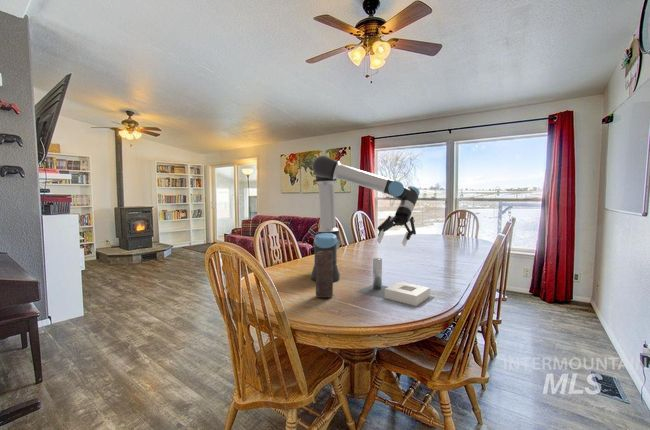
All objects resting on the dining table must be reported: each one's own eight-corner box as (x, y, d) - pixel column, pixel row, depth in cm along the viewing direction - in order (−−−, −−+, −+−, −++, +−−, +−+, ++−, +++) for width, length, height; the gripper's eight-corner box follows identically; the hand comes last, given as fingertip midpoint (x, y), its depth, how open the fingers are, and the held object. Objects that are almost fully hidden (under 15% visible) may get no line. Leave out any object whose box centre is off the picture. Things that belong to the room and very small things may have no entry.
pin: (371, 288, 141) (371, 259, 140) (375, 286, 144) (376, 257, 143) (378, 290, 138) (379, 260, 137) (383, 288, 141) (383, 258, 140)
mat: (356, 292, 137) (356, 291, 137) (374, 284, 149) (374, 283, 149) (420, 309, 117) (420, 307, 117) (435, 298, 129) (435, 297, 129)
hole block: (384, 297, 128) (384, 288, 128) (399, 290, 139) (400, 281, 139) (416, 305, 119) (416, 296, 119) (429, 296, 130) (430, 287, 130)
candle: (331, 300, 126) (331, 253, 125) (313, 299, 128) (314, 252, 126) (334, 294, 134) (334, 250, 132) (317, 293, 135) (318, 249, 134)
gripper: (429, 216, 152) (417, 250, 142) (385, 214, 168) (371, 245, 158) (425, 206, 148) (412, 240, 137) (381, 205, 164) (365, 236, 154)
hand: (390, 243), depth 148 cm, fingers open, 13 cm apart
